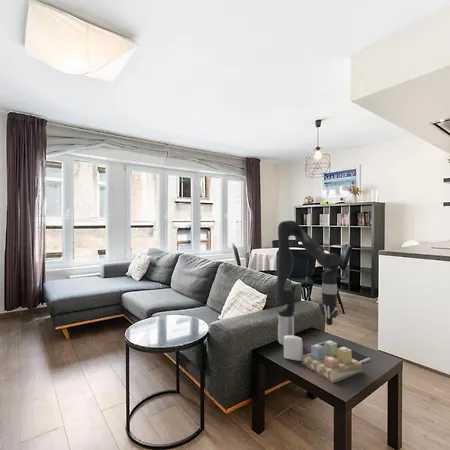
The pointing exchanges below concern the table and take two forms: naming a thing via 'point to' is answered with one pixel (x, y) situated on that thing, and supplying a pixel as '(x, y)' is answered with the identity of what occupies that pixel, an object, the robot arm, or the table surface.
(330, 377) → the board
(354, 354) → the smartphone
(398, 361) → the table surface
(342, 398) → the table surface
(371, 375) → the table surface
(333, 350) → the button
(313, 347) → the button
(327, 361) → the button
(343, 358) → the button
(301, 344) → the photo printer
